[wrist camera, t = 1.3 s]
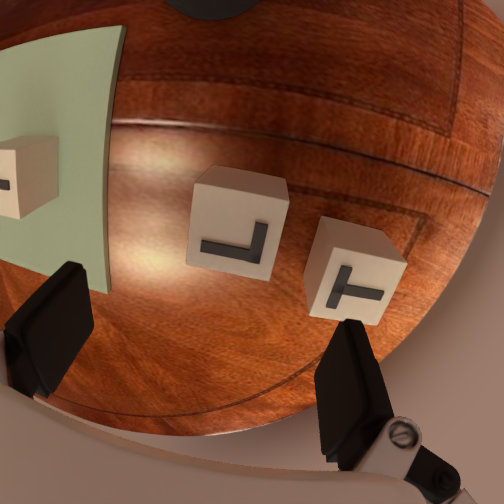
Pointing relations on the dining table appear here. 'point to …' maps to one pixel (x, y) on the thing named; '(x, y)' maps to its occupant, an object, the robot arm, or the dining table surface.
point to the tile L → (236, 221)
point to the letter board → (63, 146)
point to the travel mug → (212, 8)
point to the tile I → (27, 174)
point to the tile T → (351, 272)
